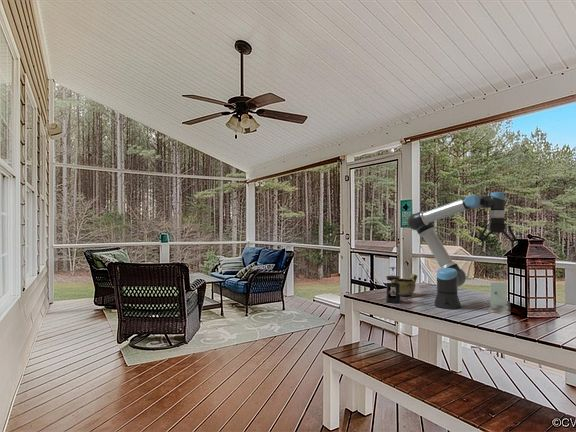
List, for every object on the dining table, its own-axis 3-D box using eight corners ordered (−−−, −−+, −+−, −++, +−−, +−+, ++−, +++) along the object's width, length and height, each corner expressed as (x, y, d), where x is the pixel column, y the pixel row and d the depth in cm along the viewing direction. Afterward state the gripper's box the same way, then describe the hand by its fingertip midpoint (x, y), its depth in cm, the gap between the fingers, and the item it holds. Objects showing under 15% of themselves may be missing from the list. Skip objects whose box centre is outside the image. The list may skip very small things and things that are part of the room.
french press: (404, 303, 234) (403, 268, 235) (391, 304, 231) (391, 268, 232) (394, 299, 245) (393, 266, 246) (381, 300, 243) (381, 266, 243)
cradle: (488, 312, 208) (488, 301, 208) (487, 310, 214) (487, 299, 214) (510, 314, 203) (510, 303, 203) (509, 312, 209) (509, 301, 209)
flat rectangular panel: (491, 309, 208) (490, 282, 209) (490, 308, 211) (490, 281, 212) (507, 311, 205) (506, 283, 205) (506, 310, 208) (505, 282, 208)
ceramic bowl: (398, 298, 249) (398, 276, 249) (383, 294, 265) (383, 273, 265) (423, 295, 257) (423, 275, 257) (408, 291, 273) (407, 272, 273)
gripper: (474, 217, 220) (474, 251, 219) (522, 217, 209) (522, 253, 209) (474, 217, 226) (473, 250, 226) (520, 217, 216) (520, 252, 215)
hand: (497, 252), depth 217 cm, fingers open, 13 cm apart
